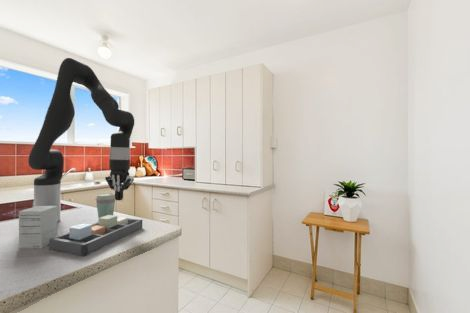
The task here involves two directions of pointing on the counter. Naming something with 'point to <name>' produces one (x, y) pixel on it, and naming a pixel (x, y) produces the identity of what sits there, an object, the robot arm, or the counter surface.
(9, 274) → the counter surface
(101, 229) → the orange cube
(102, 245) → the grey compartment tray
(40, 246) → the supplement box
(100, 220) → the pale green cube
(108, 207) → the coffee cup
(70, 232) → the pale blue cube
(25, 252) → the counter surface
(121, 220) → the cream cube
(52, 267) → the counter surface
